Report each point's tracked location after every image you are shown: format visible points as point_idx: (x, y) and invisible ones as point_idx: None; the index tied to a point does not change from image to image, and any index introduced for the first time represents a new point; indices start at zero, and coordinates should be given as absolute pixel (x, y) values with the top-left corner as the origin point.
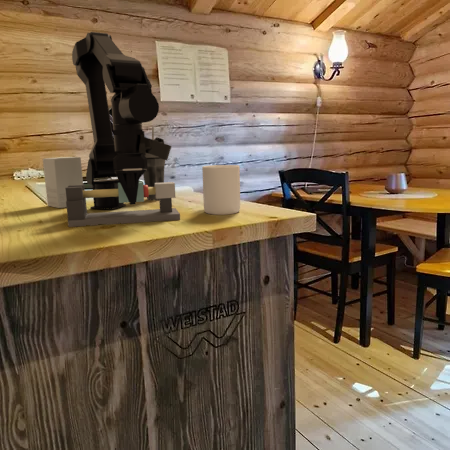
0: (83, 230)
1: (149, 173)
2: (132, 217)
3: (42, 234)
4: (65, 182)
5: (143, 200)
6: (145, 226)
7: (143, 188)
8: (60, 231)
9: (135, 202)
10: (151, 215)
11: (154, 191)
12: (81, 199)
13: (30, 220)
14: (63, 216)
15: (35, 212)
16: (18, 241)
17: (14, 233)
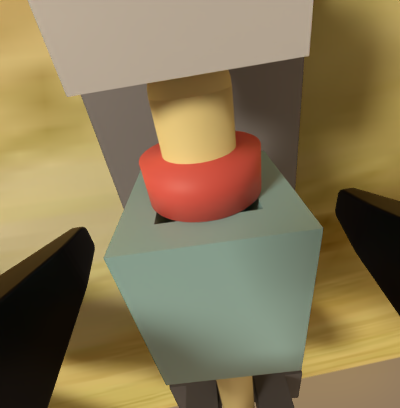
0: (345, 280)
1: None
2: (295, 176)
3: (345, 335)
4: None
5: (264, 157)
6: (396, 101)
7: (257, 196)
8: (329, 317)
9: (360, 192)
10: (297, 85)
11: (230, 76)
12: (284, 378)
13: (165, 385)
14: (117, 355)
15: (59, 402)
16: (392, 347)
17: (306, 369)
